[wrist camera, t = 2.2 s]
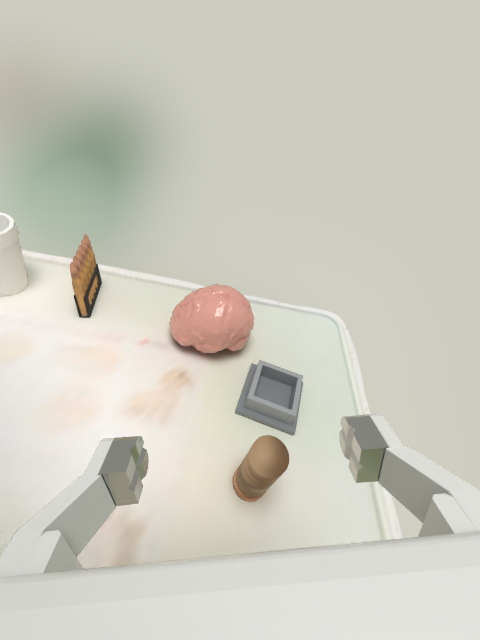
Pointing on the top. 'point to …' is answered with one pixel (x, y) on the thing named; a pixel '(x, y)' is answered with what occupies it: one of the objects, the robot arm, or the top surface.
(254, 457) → the brown rounded peg
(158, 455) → the top surface
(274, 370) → the socket block
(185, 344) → the brain
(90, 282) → the ammunition clip
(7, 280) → the foam cup
